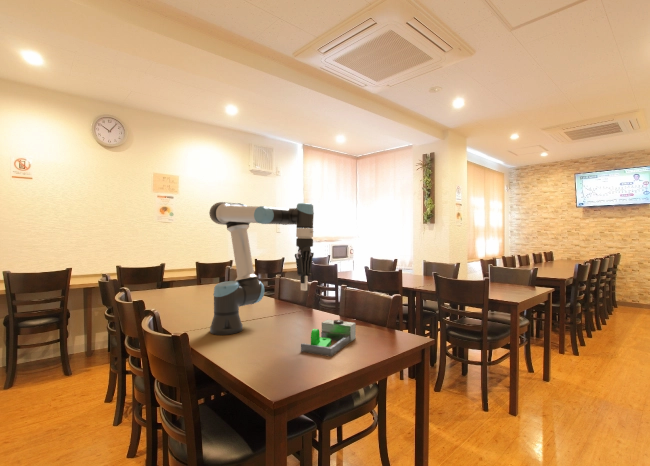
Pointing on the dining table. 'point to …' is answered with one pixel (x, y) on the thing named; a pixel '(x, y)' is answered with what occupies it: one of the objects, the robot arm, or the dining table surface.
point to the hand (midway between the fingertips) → (303, 290)
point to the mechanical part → (319, 339)
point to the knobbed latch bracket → (333, 337)
